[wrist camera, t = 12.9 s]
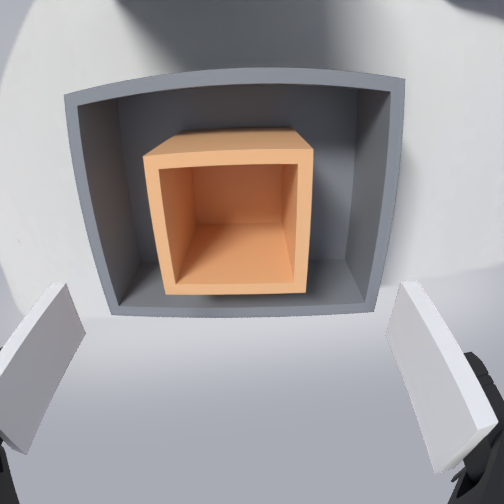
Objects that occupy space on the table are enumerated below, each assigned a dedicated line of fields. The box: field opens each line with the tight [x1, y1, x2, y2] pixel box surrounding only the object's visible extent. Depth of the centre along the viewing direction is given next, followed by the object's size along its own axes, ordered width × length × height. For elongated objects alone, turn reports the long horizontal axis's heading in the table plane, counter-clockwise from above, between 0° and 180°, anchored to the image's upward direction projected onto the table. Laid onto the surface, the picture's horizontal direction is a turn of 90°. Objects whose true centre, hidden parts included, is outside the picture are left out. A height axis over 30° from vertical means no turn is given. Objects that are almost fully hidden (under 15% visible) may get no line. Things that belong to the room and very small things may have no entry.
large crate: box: [64, 67, 405, 318], centre depth 24 cm, size 22×18×8 cm
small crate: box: [143, 127, 313, 295], centre depth 22 cm, size 9×9×10 cm
